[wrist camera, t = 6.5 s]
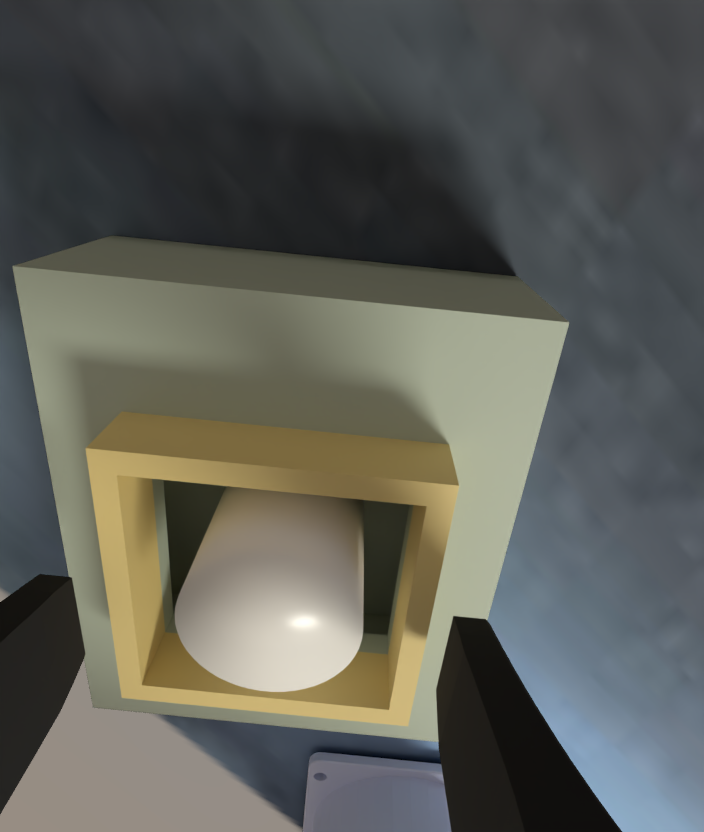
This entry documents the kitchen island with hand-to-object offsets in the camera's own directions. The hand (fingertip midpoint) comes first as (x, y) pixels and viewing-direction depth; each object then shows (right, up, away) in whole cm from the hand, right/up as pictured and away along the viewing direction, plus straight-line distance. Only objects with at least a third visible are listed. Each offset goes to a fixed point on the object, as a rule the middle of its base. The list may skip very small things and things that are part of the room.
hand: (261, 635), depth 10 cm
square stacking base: (0, +3, +6) cm, 6 cm away
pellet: (0, +3, +5) cm, 6 cm away
